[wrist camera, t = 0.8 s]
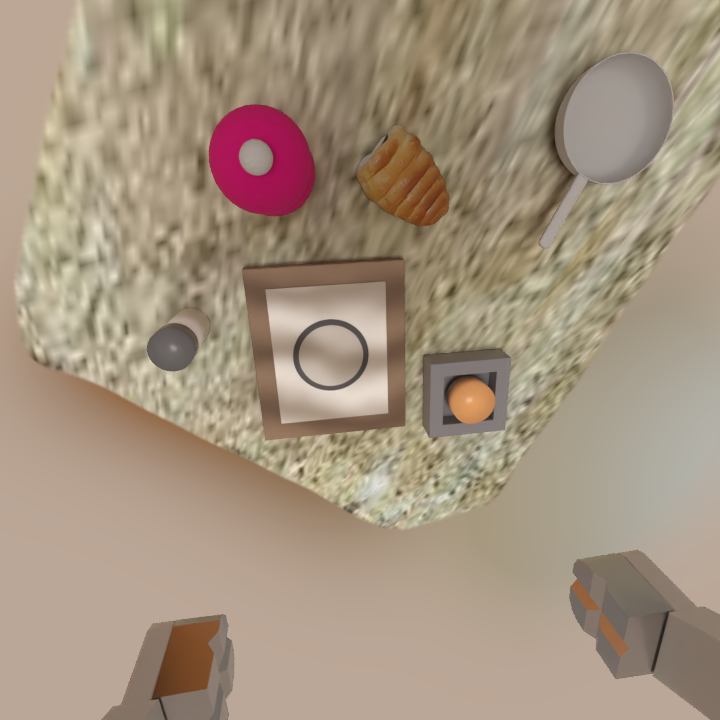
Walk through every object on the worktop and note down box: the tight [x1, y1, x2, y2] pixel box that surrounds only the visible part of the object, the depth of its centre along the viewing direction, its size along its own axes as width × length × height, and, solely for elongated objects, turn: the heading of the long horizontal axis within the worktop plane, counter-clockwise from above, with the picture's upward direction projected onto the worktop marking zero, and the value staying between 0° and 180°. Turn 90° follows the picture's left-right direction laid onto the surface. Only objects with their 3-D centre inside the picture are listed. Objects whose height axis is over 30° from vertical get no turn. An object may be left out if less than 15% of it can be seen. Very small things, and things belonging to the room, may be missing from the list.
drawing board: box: [242, 258, 405, 440], centre depth 47 cm, size 19×16×2 cm
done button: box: [446, 376, 495, 424], centre depth 49 cm, size 5×5×2 cm
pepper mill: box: [209, 104, 315, 216], centre depth 32 cm, size 7×7×20 cm
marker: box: [147, 308, 210, 371], centre depth 41 cm, size 4×4×8 cm
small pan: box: [538, 52, 674, 249], centre depth 43 cm, size 11×18×4 cm, turn 152°
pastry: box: [356, 125, 449, 226], centre depth 41 cm, size 9×7×4 cm
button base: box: [423, 349, 511, 438], centre depth 50 cm, size 9×9×3 cm
